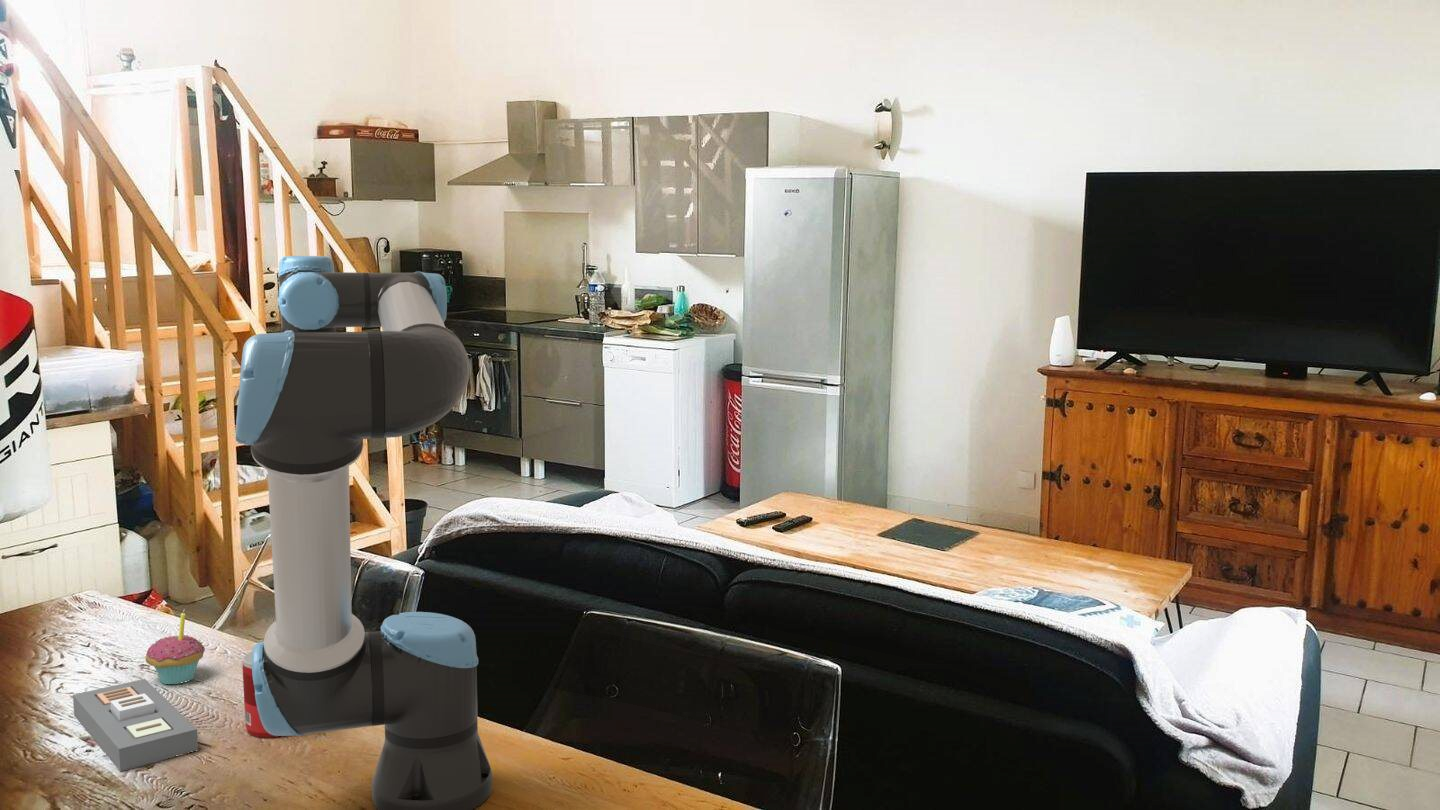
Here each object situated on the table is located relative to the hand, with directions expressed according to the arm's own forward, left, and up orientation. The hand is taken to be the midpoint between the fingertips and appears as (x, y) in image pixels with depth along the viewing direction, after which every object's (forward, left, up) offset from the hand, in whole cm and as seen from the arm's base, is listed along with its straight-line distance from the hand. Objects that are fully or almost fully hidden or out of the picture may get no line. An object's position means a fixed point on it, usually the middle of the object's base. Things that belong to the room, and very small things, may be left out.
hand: (315, 520), depth 174 cm
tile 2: (+9, +24, -27) cm, 37 cm away
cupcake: (+26, +13, -30) cm, 41 cm away
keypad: (+9, +24, -29) cm, 39 cm away
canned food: (-2, +8, -30) cm, 31 cm away
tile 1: (+2, +24, -28) cm, 37 cm away
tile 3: (+16, +24, -28) cm, 41 cm away
